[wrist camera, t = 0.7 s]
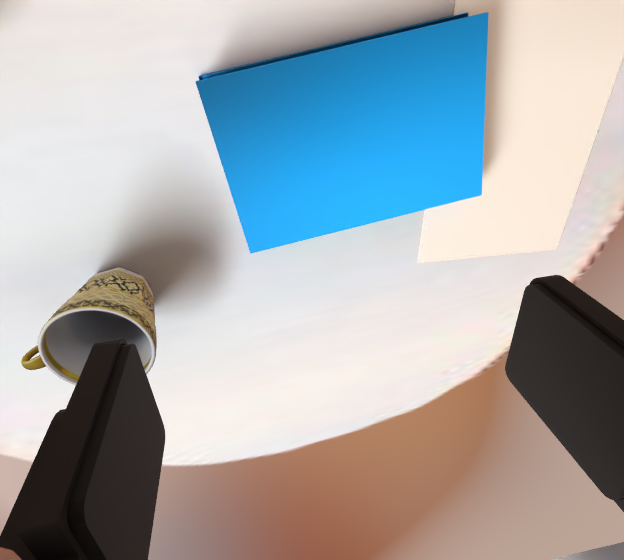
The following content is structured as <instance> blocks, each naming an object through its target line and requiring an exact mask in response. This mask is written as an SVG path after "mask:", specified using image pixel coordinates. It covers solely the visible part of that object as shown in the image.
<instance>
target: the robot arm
mask: <svg viewBox="0 0 624 560" xmlns="http://www.w3.org/2000/svg"><path fill="white" fill-rule="evenodd" d="M505 370H506V374H507V377H508V378H509V380H510V382H511V383H512V384H513V385H514V387H515V388H516V389H517V390H518V391H519V392H520V394H521V395H522V396H523V397H524V398H525V400H526V401H527V402H528V403H529V405H530V406H531V407H532V408H533V410H534V411H535V412H536V413H537V414H538V416H539V417H540V418H541V419H542V421H543V422H544V423H545V424H546V425H547V427H548V428H549V429H550V430H551V431H552V433H553V434H554V435H555V436H556V437H557V439H558V440H559V441H560V442H561V443H562V445H563V446H564V447H565V448H566V450H567V451H568V452H569V453H570V454H571V456H572V457H573V458H574V459H575V461H576V462H577V463H578V464H579V465H580V467H581V468H582V469H583V470H584V471H585V473H586V474H587V475H588V476H589V478H590V479H591V480H592V481H593V482H594V483H595V485H596V486H597V487H598V488H599V490H600V491H601V492H602V493H603V494H604V495H605V496H606V497H608V498H609V499H612V500H614V501H615V502H616V503H617V505H618V506H619V507H620V508H621V509H622V511H623V512H624V320H622V319H621V318H620V317H618V316H617V315H616V314H614V313H613V312H611V311H610V310H609V309H607V308H606V307H604V306H603V305H602V304H600V303H599V302H598V301H596V300H595V299H593V298H592V297H591V296H589V295H587V294H586V293H585V292H583V291H582V290H581V289H579V288H578V287H577V286H575V285H574V284H572V283H571V282H570V281H568V280H567V279H565V278H564V277H562V276H560V275H554V276H547V277H540V278H535V279H533V280H532V281H531V283H530V285H528V286H527V287H526V288H525V291H524V295H523V298H522V302H521V306H520V310H519V314H518V318H517V322H516V326H515V330H514V334H513V338H512V342H511V346H510V350H509V354H508V358H507V362H506V366H505ZM164 445H165V429H164V425H163V422H162V419H161V416H160V413H159V410H158V407H157V404H156V402H155V399H154V396H153V393H152V390H151V387H150V384H149V381H148V378H147V376H146V373H145V370H144V367H143V364H142V361H141V358H140V355H139V352H138V350H137V347H136V345H135V344H127V342H126V341H125V339H116V340H109V341H102V342H96V343H94V345H93V347H92V349H91V351H90V353H89V356H88V358H87V361H86V363H85V365H84V368H83V370H82V372H81V375H80V377H79V379H78V382H77V384H76V387H75V389H74V391H73V394H72V396H71V398H70V401H69V403H68V405H67V408H66V409H64V410H60V411H59V412H58V413H56V415H55V416H54V418H53V420H52V422H51V424H50V426H49V428H48V430H47V433H46V435H45V437H44V439H43V442H42V444H41V446H40V448H39V451H38V453H37V455H36V457H35V460H34V462H33V464H32V466H31V469H30V471H29V473H28V475H27V478H26V480H25V482H24V484H23V486H22V489H21V491H20V493H19V495H18V498H17V500H16V502H15V504H14V507H13V509H12V511H11V513H10V516H9V518H8V520H7V522H6V525H5V527H4V529H3V531H2V533H1V536H0V560H148V554H149V547H150V540H151V533H152V526H153V519H154V513H155V506H156V499H157V491H158V486H159V479H160V472H161V465H162V458H163V451H164ZM551 560H624V542H623V543H618V544H615V545H610V546H606V547H601V548H597V549H593V550H589V551H585V552H581V553H576V554H572V555H568V556H563V557H559V558H555V559H551Z"/></svg>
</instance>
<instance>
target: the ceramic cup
mask: <svg viewBox="0 0 624 560" xmlns="http://www.w3.org/2000/svg"><path fill="white" fill-rule="evenodd" d="M116 339H125V341H126V342H127V344H135V345H136V347H137V350H138V352H139V355H140V358H141V361H142V364H143V367H144V370H145V373H146V374H147V373H148V372H149V370H150V369H151V367H152V366H153V363H154V361H155V357H156V327H155V314H154V295H153V292H152V290H151V288H150V286H149V285H148V283H147V281H146V279H145V277H144V276H142V275H139V274H137V273H134V272H132V271H129V270H126V269H124V268H121V267H118V268H114V269H111V270H107V271H104V272H100V273H97V274H95V275H94V276H93V277H91V278H90V279H89V280H88V282H87V283H86V284H85V285H84V286H83V287H82V288H80V289H79V290H78V291H77V293H76V294H75V295H74V296H73V297H71V298H70V299H69V300H68V301H67V302H66V303H64V304H63V305H62V306H61V307H60V308H59V309H58V310H57V312H56V313H55V314H54V315H53V316H52V317H51V318H50V319H49V321H48V322H47V323H46V324H45V325H44V327H43V328H42V330H41V332H40V335H39V339H38V345H37V346H36V347H34V348H33V349H31V350H30V351H29V352H28V353H26V355H25V356H24V357H23V359H22V365H23V367H24V368H26V369H29V370H35V369H40V368H43V367H45V366H47V367H48V368H49V370H51V371H52V372H53V373H54V374H55V375H57V376H58V377H60V378H61V379H63V380H65V381H67V382H69V383H71V384H74V385H76V384H77V382H78V379H79V377H80V375H81V372H82V370H83V368H84V365H85V363H86V361H87V358H88V356H89V353H90V351H91V349H92V347H93V345H94V343H96V342H102V341H109V340H116ZM38 352H39V354H40V355H39V356H37V357H35V358H33V359H31V358H32V357H33V356H34V355H35V354H37V353H38ZM30 359H31V360H30Z"/></svg>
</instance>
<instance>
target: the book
mask: <svg viewBox="0 0 624 560" xmlns="http://www.w3.org/2000/svg"><path fill="white" fill-rule="evenodd" d="M488 15H489V12H485V13H481V14H477V15H473V16H468V13H463V14H459V15H455V16H450V17H446V18H442V19H438V20H434V21H429V22H425V23H421V24H417V25H413V26H408V27H404V28H400V29H396V30H391V31H387V32H383V33H379V34H375V35H370V36H366V37H362V38H358V39H354V40H349V41H345V42H341V43H337V44H333V45H328V46H324V47H320V48H316V49H311V50H307V51H303V52H299V53H295V54H290V55H286V56H282V57H278V58H274V59H269V60H265V61H261V62H257V63H253V64H248V65H244V66H240V67H236V68H232V69H227V70H223V71H219V72H215V73H210V74H206V75H202V76H199V81H196V85H197V88H198V91H199V94H200V97H201V100H202V103H203V106H204V109H205V113H206V116H207V119H208V122H209V125H210V128H211V131H212V134H213V138H214V141H215V144H216V147H217V150H218V153H219V156H220V159H221V162H222V166H223V169H224V172H225V175H226V178H227V181H228V184H229V187H230V191H231V194H232V197H233V200H234V203H235V206H236V209H237V212H238V215H239V219H240V222H241V225H242V228H243V231H244V234H245V237H246V240H247V244H248V247H249V250H250V253H254V252H258V251H262V250H266V249H270V248H274V247H278V246H282V245H286V244H290V243H294V242H298V241H302V240H306V239H310V238H314V237H318V236H322V235H326V234H330V233H334V232H338V231H341V230H345V229H349V228H353V227H357V226H361V225H365V224H369V223H373V222H377V221H381V220H385V219H389V218H393V217H397V216H401V215H405V214H409V213H413V212H417V211H421V210H425V209H429V208H433V207H437V206H441V205H445V204H449V203H453V202H457V201H460V200H464V199H468V198H472V197H476V196H480V195H482V177H483V150H484V123H485V96H486V69H487V42H488Z"/></svg>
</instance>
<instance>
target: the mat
mask: <svg viewBox="0 0 624 560" xmlns="http://www.w3.org/2000/svg"><path fill="white" fill-rule="evenodd" d="M485 12H489V15H488V42H487V69H486V96H485V123H484V150H483V177H482V195H480V196H476V197H472V198H468V199H464V200H460V201H457V202H453V203H449V204H445V205H441V206H437V207H433V208H429V209H425V212H424V219H423V226H422V233H421V240H420V247H419V254H418V260H417V263H424V262H434V261H445V260H455V259H465V258H475V257H486V256H496V255H506V254H516V253H527V252H537V251H547V250H557V247H558V244H559V241H560V239H561V236H562V233H563V230H564V227H565V224H566V221H567V218H568V215H569V213H570V210H571V207H572V204H573V201H574V198H575V195H576V192H577V189H578V187H579V184H580V181H581V178H582V175H583V172H584V169H585V166H586V163H587V161H588V158H589V155H590V152H591V149H592V146H593V143H594V140H595V137H596V135H597V132H598V129H599V126H600V123H601V120H602V117H603V114H604V111H605V109H606V106H607V103H608V100H609V97H610V94H611V91H612V88H613V85H614V83H615V80H616V77H617V74H618V71H619V68H620V65H621V62H622V59H623V57H624V0H455V7H454V13H453V16H455V15H459V14H463V13H468V16H473V15H477V14H481V13H485Z"/></svg>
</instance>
